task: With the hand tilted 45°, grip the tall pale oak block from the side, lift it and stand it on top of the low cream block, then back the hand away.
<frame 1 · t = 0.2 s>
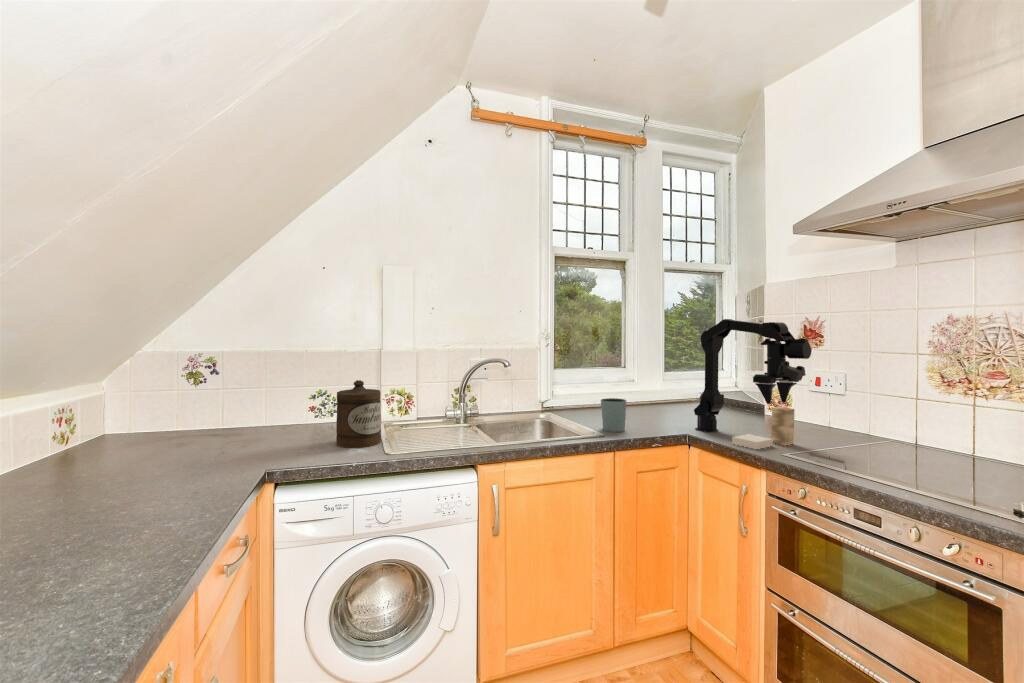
hand: (776, 403, 166), 15 cm above the table, tool pointing down, fingers open, 9 cm apart
oak block: (782, 443, 168), on the table
grey green cup: (613, 430, 191), on the table
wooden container: (359, 443, 167), on the table
cream base block: (752, 446, 165), on the table
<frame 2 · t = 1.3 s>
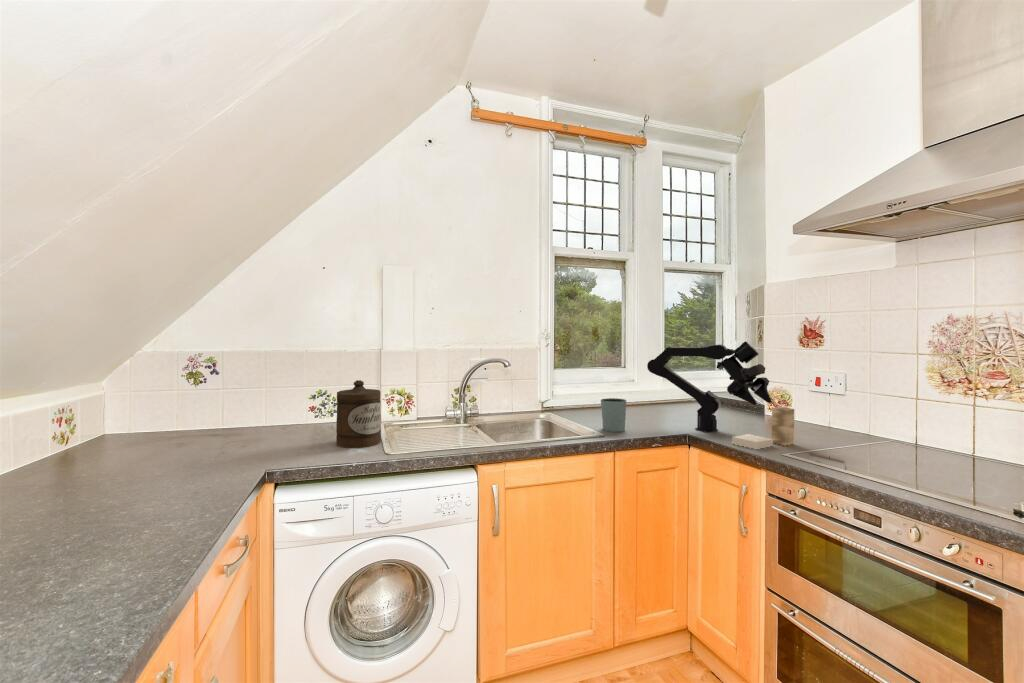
hand: (763, 403, 174), 13 cm above the table, tool tilted 45°, fingers open, 9 cm apart
nothing on the table moved.
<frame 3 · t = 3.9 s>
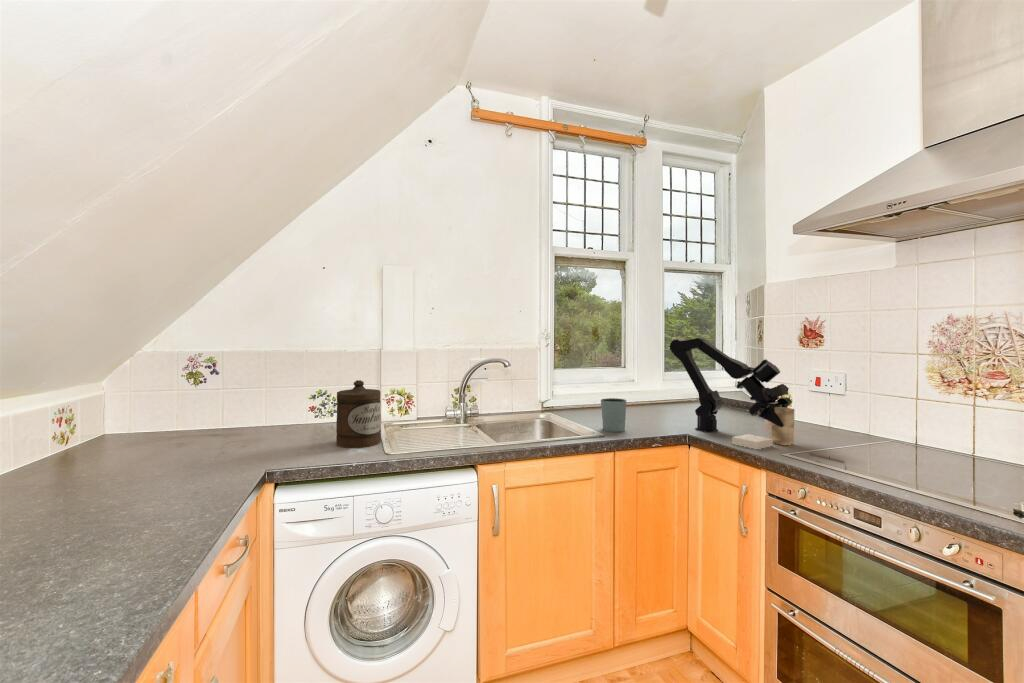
hand: (786, 425, 166), 7 cm above the table, tool tilted 45°, fingers closed on oak block, 5 cm apart
oak block: (782, 443, 168), on the table, touching gripper
everything else where it was.
when the fingers open (11 cm above the table, at t = 7.6 s): oak block drops 2 cm, point 3 cm above the table.
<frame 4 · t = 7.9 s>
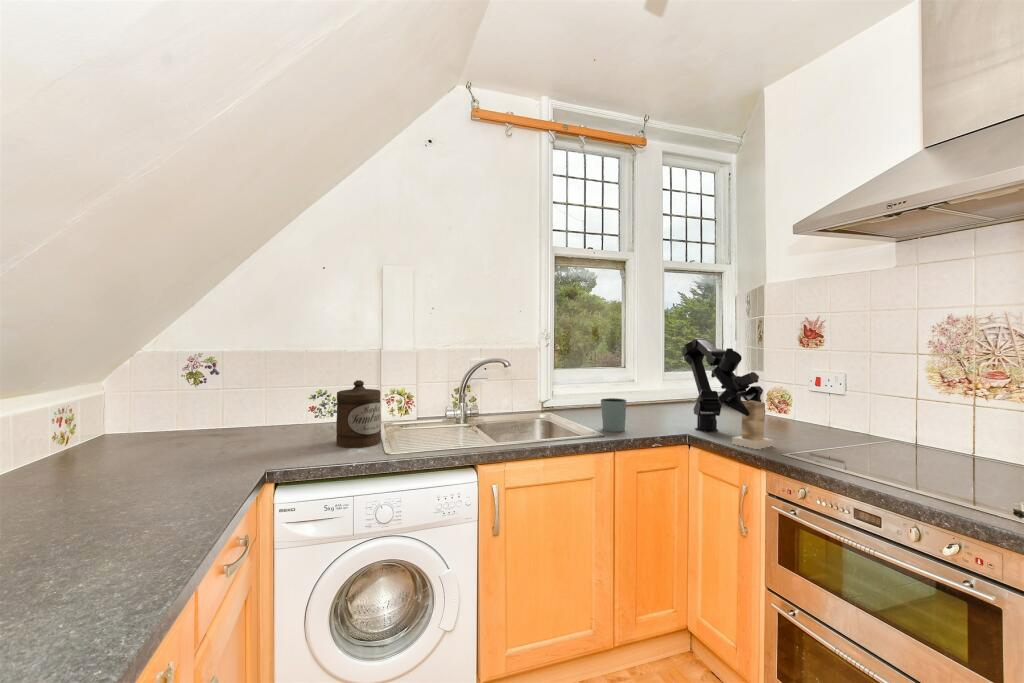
hand: (756, 414, 164), 11 cm above the table, tool tilted 45°, fingers open, 9 cm apart
oak block: (752, 437, 165), point 3 cm above the table
everything else where it was.
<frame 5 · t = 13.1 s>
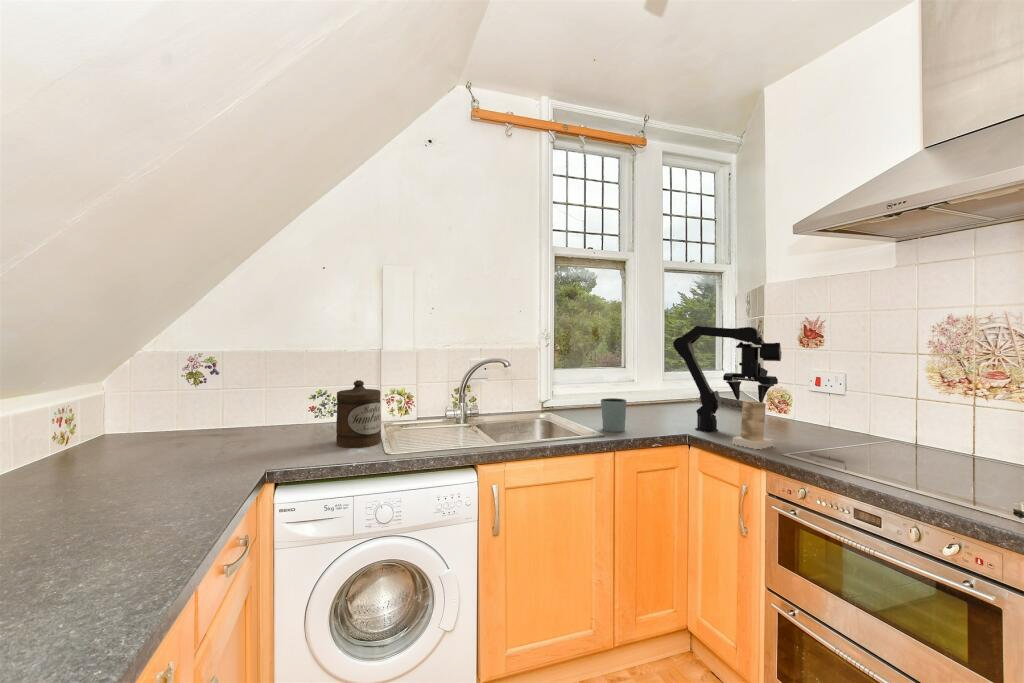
hand: (749, 401, 180), 13 cm above the table, tool pointing down, fingers open, 9 cm apart
oak block: (751, 438, 165), point 3 cm above the table, touching cream base block
cream base block: (752, 447, 165), on the table, touching oak block
everything else where it was.
at the end: oak block 0.3 cm off-centre on the cream base block, point 3.1 cm above the cream base block's base; oak block tilted 3°; the gripper is holding nothing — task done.
